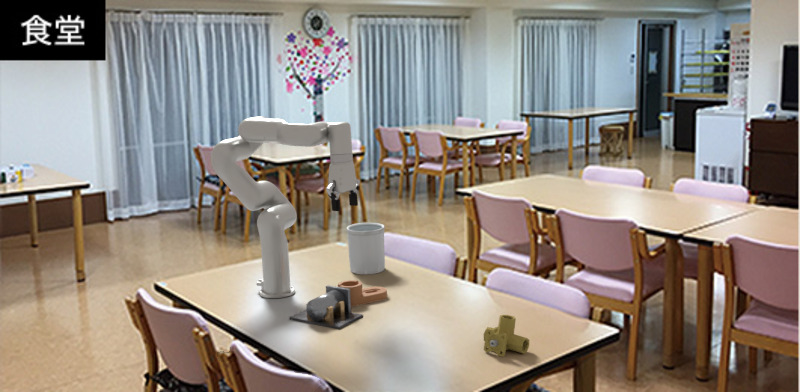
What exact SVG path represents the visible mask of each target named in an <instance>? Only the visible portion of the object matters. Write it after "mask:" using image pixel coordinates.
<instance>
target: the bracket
mask: <svg viewBox="0 0 800 392" xmlns="http://www.w3.org/2000/svg"><path fill="white" fill-rule="evenodd" d="M337 287H342V288H348V289H350V302H351V307H356V306H361V305H366V304H370V303H375V302H379V301H383V300H386V299H387V298H388V290H387V289H388V288H385V287H383V286H368V287H364V288H363V282H362V281H359V280H357V279H356V280H355V279H349V280H348V279H347V280H342V281H340V282H338V283H337Z"/></svg>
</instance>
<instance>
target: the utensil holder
mask: <svg viewBox="0 0 800 392" xmlns="http://www.w3.org/2000/svg"><path fill="white" fill-rule="evenodd" d="M385 230H386V229H385V224H382V223H378V222H359V223H358V222H357V223H353V224H350V225H349V224H348V226H346V234H347V245H348V258H349V260H348V261H349V270H350V272H351V273H352V274H357V275H374V274H379V273H381V272H383V271H385V267H386V264H385V263H386V259H385V255H386V252H385Z"/></svg>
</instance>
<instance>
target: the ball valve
mask: <svg viewBox="0 0 800 392" xmlns="http://www.w3.org/2000/svg"><path fill="white" fill-rule="evenodd" d="M516 320H517V319H516V317H515V316H513V315H509V314H501V315H499V319H498V325H497V326H496V327H488V326H487V327H486V329H485V331H483V341H484V345H483V351H484V352H485V353H491V352H494V353H496V354H497V356H498V357H503V358H504V357H505V356H506V351H507V350H508V351H509V350H510V351H513V352H517V353H520V354H523V355H525V354H526V353H527V352H528V351H529V350H528V349H529V347H530V339H529V338H527V337H526V336H522V335H518V334H515V328H516Z"/></svg>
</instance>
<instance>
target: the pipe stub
mask: <svg viewBox="0 0 800 392" xmlns="http://www.w3.org/2000/svg"><path fill="white" fill-rule="evenodd" d="M305 305H306V308H305V309H304V310H301V311H299V312H298V313H295V314H293V315H290V316H289V317H288V319H289V320H291V321H297V322H300V323H306V324H311V325H315V326H321V327H326V328H332V329H337V330H341V329H343V328H344V327H346V326H348V325H350V324H352V323H354V322H356V321H357V320H359V319H361V318H363V316H364V314H363V313H356V312H352V308H351V307H352V306H351V302H350V289H348V288H342V287H338V286H336V285H335V286H334V285H329V284H328V285H326V286H325V293H324V294H321V295H319V296H317V297H315V298H313V299H311V300H309V301H308V302H307V303H306V304H305Z"/></svg>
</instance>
